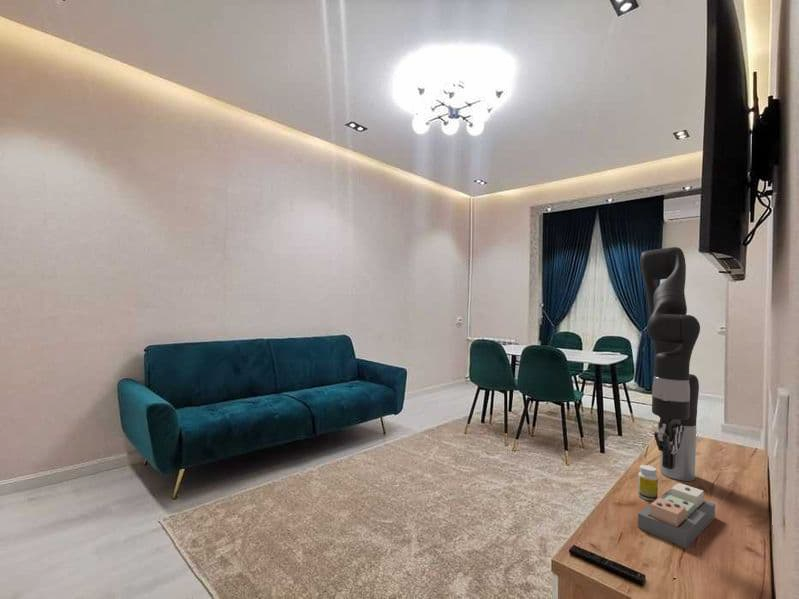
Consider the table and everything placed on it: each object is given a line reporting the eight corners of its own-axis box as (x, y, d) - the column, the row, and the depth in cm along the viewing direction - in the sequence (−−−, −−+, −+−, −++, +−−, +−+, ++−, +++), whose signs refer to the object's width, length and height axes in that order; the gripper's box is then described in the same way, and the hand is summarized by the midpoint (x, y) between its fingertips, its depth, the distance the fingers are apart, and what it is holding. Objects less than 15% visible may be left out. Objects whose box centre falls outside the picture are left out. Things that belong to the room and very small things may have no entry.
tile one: (678, 493, 108) (678, 481, 108) (703, 502, 104) (703, 489, 104) (671, 499, 105) (671, 487, 105) (696, 508, 100) (696, 495, 100)
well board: (670, 501, 111) (670, 488, 111) (714, 517, 103) (715, 504, 103) (637, 527, 97) (638, 513, 97) (686, 548, 89) (686, 532, 89)
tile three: (659, 509, 99) (659, 496, 100) (685, 519, 95) (685, 505, 95) (650, 516, 96) (650, 502, 96) (677, 527, 92) (677, 512, 92)
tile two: (669, 506, 104) (669, 493, 104) (694, 515, 99) (694, 502, 99) (660, 512, 100) (661, 499, 100) (687, 523, 96) (687, 509, 96)
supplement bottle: (660, 502, 110) (661, 472, 110) (641, 500, 111) (642, 470, 111) (652, 494, 115) (653, 465, 115) (635, 492, 116) (635, 463, 116)
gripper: (663, 390, 103) (661, 456, 103) (642, 396, 95) (640, 468, 94) (698, 396, 97) (696, 466, 97) (679, 403, 89) (677, 480, 89)
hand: (668, 467), depth 96 cm, fingers closed
